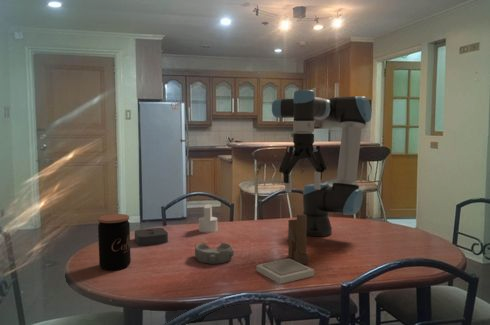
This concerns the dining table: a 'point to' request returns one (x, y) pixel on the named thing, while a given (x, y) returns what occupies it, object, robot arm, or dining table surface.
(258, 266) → the stand
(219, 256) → the dish
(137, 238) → the streaming box
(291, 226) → the wooden block
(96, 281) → the dining table surface
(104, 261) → the coffee jar
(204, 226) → the base with upright slab
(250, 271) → the dining table surface
